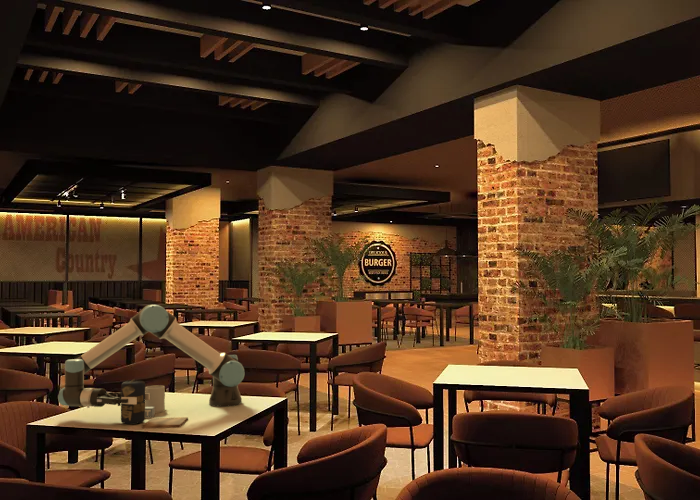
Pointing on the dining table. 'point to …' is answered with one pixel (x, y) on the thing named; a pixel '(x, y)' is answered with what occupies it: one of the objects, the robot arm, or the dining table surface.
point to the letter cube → (149, 412)
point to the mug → (156, 397)
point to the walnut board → (165, 422)
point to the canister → (133, 411)
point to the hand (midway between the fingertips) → (142, 398)
